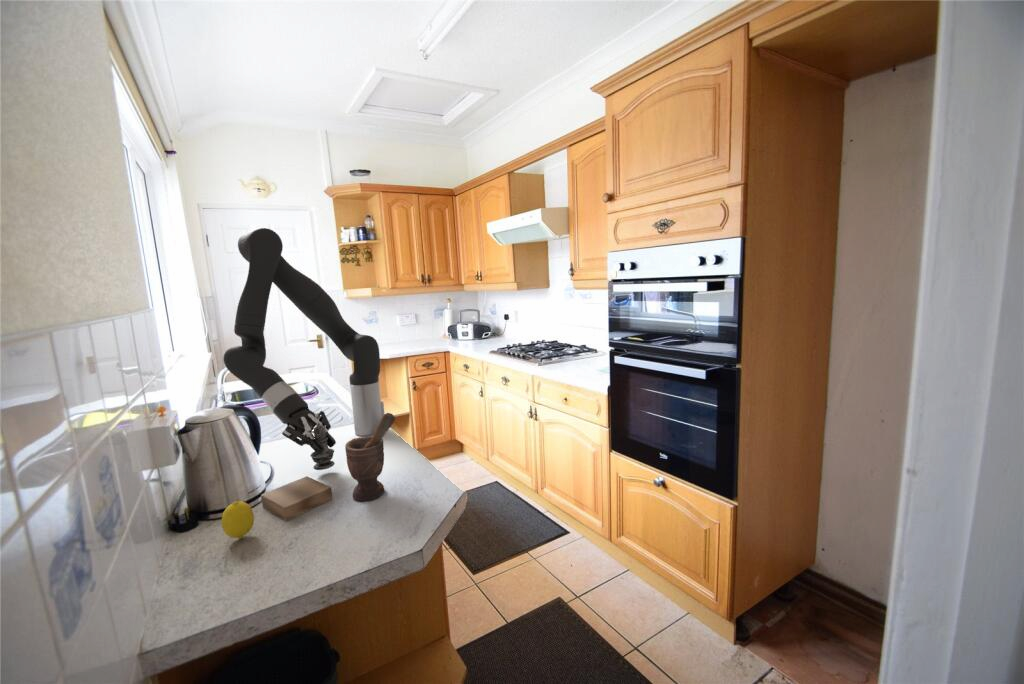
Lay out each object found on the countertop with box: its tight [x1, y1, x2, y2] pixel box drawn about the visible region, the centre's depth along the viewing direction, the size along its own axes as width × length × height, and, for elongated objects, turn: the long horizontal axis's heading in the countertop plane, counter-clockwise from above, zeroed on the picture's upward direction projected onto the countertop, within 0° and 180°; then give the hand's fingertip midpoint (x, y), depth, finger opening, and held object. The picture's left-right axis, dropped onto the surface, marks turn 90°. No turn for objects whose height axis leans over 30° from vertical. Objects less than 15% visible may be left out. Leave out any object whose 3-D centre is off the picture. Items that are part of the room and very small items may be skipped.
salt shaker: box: [310, 423, 335, 471], centre depth 117 cm, size 6×6×12 cm
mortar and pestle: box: [344, 412, 396, 502], centre depth 105 cm, size 12×9×20 cm
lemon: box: [221, 500, 255, 539], centre depth 89 cm, size 6×6×8 cm
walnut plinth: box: [260, 476, 334, 521], centre depth 103 cm, size 11×11×3 cm
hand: (328, 448), depth 117 cm, fingers closed on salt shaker, 3 cm apart
